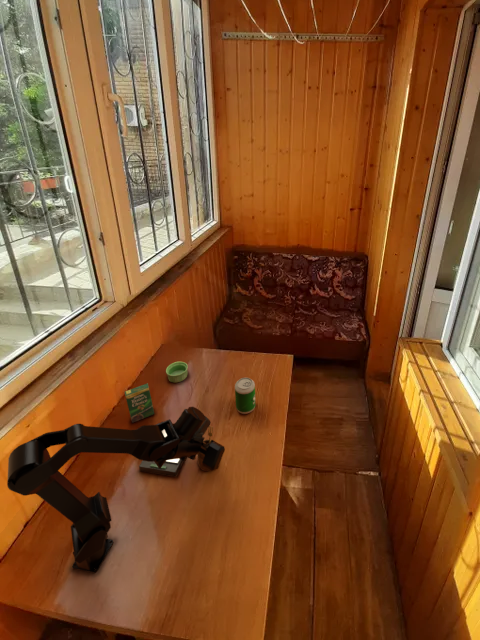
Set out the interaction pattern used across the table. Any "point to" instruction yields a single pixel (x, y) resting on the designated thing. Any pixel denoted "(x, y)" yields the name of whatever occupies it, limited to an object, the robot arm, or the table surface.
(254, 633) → the table surface
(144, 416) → the coffee box
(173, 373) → the ramekin
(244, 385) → the soda can
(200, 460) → the utensil holder
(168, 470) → the kitchen scale
